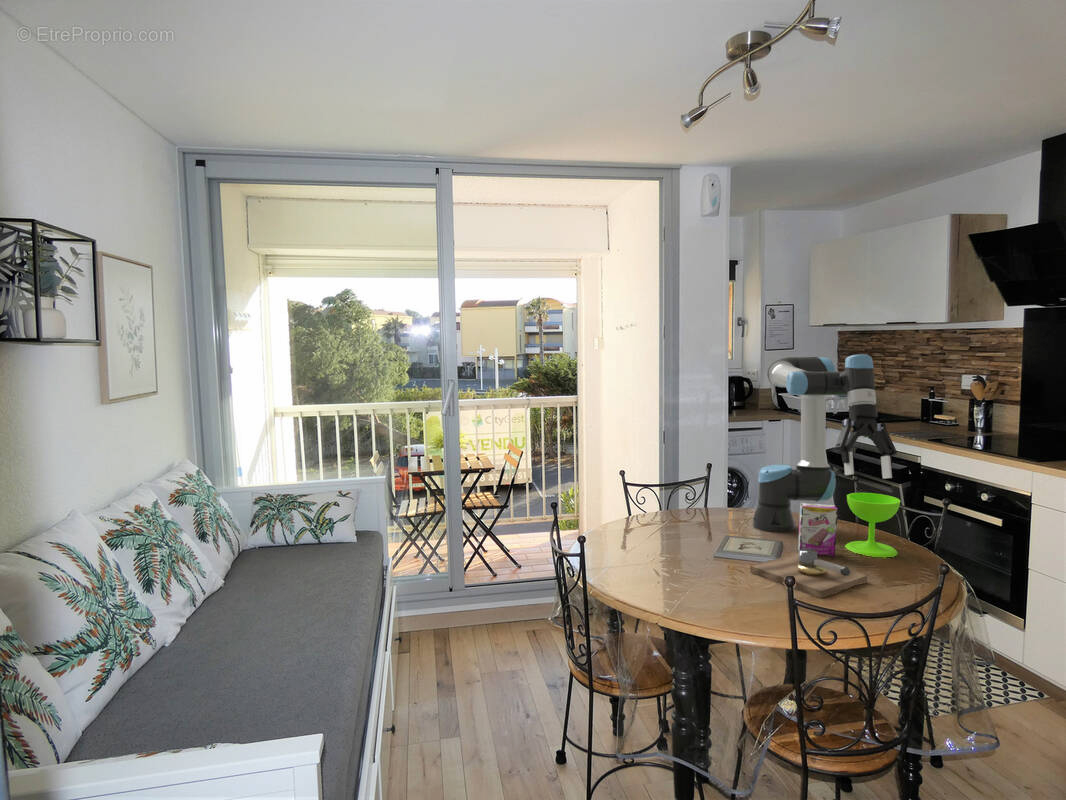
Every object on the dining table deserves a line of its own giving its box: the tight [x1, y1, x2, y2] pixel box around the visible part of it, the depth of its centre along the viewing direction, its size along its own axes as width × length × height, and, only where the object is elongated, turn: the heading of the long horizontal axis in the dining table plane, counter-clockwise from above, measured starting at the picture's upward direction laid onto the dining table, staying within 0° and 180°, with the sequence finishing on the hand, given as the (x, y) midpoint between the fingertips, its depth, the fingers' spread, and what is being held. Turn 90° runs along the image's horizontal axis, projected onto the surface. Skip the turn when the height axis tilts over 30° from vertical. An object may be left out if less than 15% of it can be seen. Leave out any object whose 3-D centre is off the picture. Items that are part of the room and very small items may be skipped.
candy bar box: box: [797, 502, 839, 557], centre depth 216 cm, size 11×5×16 cm, turn 74°
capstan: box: [798, 548, 851, 576], centre depth 190 cm, size 16×8×6 cm, turn 32°
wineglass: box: [844, 492, 901, 559], centre depth 218 cm, size 16×16×18 cm
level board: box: [749, 552, 868, 599], centre depth 195 cm, size 24×22×2 cm
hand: (868, 476), depth 189 cm, fingers open, 13 cm apart
